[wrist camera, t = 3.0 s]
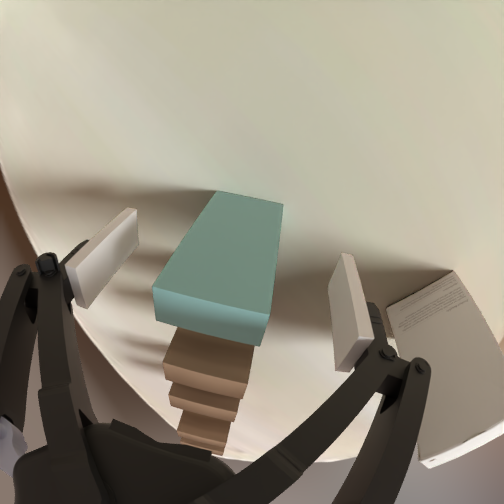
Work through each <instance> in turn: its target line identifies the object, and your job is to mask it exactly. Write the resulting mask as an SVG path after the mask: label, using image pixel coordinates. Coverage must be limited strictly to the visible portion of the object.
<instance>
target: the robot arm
mask: <svg viewBox="0 0 504 504" xmlns="http://www.w3.org/2000/svg"><path fill="white" fill-rule="evenodd" d="M138 245H139V241H138V223H137V209H133V208H128V207H127V208H126V209H125V210H123V211H122V212H121V213H120V214H119V215H117V216H116V217H115V218H114V219H113V220H112V221H111V222H109V223H108V224H107V225H106V226H105V227H104V228H103V229H102V230H100V231H99V232H98V233H97V234H96V235H95V236H94V237H93V238H92V239H91V240H85V241H83V242H82V243H80V244H79V245H78V246H76V247H75V249H73V250H72V251H71V252H70V253H69V254H68V255H67V256H66V257H65V258H64V259H63V260H62V261H61V262H60V263H58V259H57V256H56V254H55V253H51V252H49V253H44V254H42V255H40V256H39V257H38V258H37V259H36V261H35V263H36V266H37V269H38V272H32V271H31V268H30V266H29V265H28V264H22V265H19V266H17V267H16V268H15V269H14V270H13V272H12V274H11V276H10V278H9V280H8V282H7V285H6V287H5V289H4V292H3V294H2V296H1V299H0V469H1V470H2V471H4V472H5V473H7V474H8V475H9V476H11V477H12V478H13V482H14V487H15V503H14V504H269V503H270V502H271V501H273V500H274V499H275V498H276V497H278V496H279V495H280V494H281V493H283V492H284V491H285V490H286V489H287V488H288V487H289V486H291V485H292V484H293V483H294V482H295V481H296V480H298V479H299V478H300V476H301V475H302V474H303V472H304V471H305V470H306V469H307V468H308V467H309V466H310V465H311V464H312V463H313V462H314V461H315V460H316V459H317V458H318V457H319V456H320V455H321V454H322V453H323V452H324V451H325V450H326V449H327V448H328V447H329V446H330V445H331V444H332V443H333V442H334V441H335V440H336V439H337V438H338V437H339V436H340V434H341V433H342V432H343V431H344V430H345V429H346V428H347V427H348V425H349V424H350V423H351V422H352V421H353V420H354V418H355V417H356V416H357V415H358V414H359V412H360V411H361V410H362V409H363V407H364V406H365V405H366V404H367V402H368V401H369V400H370V398H371V397H372V396H373V394H374V393H375V392H378V393H381V394H383V396H382V399H381V401H380V404H379V407H378V410H377V412H376V415H375V417H374V420H373V422H372V425H371V427H370V430H369V432H368V434H367V437H366V439H365V441H364V443H363V446H362V448H361V450H360V452H359V454H358V456H357V458H356V461H355V462H354V464H353V466H352V468H351V470H350V472H349V474H348V476H347V478H346V480H345V482H344V483H343V485H342V487H341V489H340V490H339V492H338V494H337V496H336V497H335V499H334V501H333V502H332V504H394V502H395V500H396V498H397V495H398V493H399V491H400V488H401V485H402V483H403V481H404V478H405V475H406V473H407V470H408V466H409V464H410V461H411V458H412V455H413V451H414V448H415V445H416V442H417V438H418V435H419V431H420V427H421V423H422V419H423V415H424V410H425V406H426V401H427V396H428V390H429V385H430V379H431V367H430V365H429V363H428V362H427V361H426V360H425V359H423V358H420V357H415V358H414V359H412V360H411V362H409V361H406V360H404V359H401V358H399V357H398V356H397V353H396V351H395V349H394V348H393V347H392V346H390V345H388V342H387V338H386V334H385V330H384V326H383V325H382V324H383V323H382V319H381V315H380V312H379V310H378V308H377V307H376V305H375V304H374V303H370V302H366V301H365V297H364V293H363V289H362V285H361V282H360V278H359V274H358V271H357V267H356V264H355V261H354V257H353V255H350V254H346V253H341V255H340V258H339V260H338V263H337V265H336V268H335V270H334V272H333V275H332V277H331V280H330V282H329V284H328V295H329V304H330V313H331V323H332V334H333V346H334V359H335V371H340V372H350V371H351V369H352V368H353V367H354V368H355V371H354V372H353V373H352V374H351V375H350V376H349V377H348V379H347V380H346V381H345V382H344V383H343V384H342V385H341V386H340V387H339V388H338V389H337V390H336V391H335V392H334V393H333V394H332V395H331V396H330V397H329V398H328V399H327V400H326V401H325V402H324V403H323V404H322V405H321V406H320V407H319V408H318V409H317V410H316V411H315V412H314V413H313V414H312V415H311V416H310V417H309V418H308V419H306V420H305V421H304V422H303V423H302V424H301V425H300V426H299V427H298V428H296V429H295V430H294V431H293V432H292V433H291V434H290V435H288V436H287V437H286V438H285V439H284V440H282V441H281V442H280V443H279V444H278V445H276V446H275V447H273V448H272V449H270V450H269V451H268V452H266V453H265V454H264V455H263V456H261V457H260V458H259V459H257V460H256V461H255V462H253V463H252V464H251V465H249V466H248V467H246V468H245V469H244V470H242V471H241V472H239V473H238V474H235V473H234V472H233V470H232V469H231V468H230V467H229V466H228V465H226V464H225V463H224V462H223V461H221V460H219V459H218V458H216V457H214V456H212V455H211V454H212V451H210V450H205V449H201V448H197V447H193V446H190V445H185V444H169V443H159V442H157V441H155V440H153V439H152V438H150V437H148V436H147V435H145V434H144V433H142V432H141V431H139V430H138V429H136V428H135V427H132V426H129V425H127V424H125V423H122V422H120V421H117V420H115V419H113V420H112V422H111V423H98V420H97V418H96V417H95V414H94V412H93V410H92V407H91V403H90V399H89V396H88V392H87V388H86V384H85V380H84V375H83V371H82V366H81V361H80V356H79V352H78V345H77V339H76V332H75V325H74V318H73V309H72V304H71V301H72V299H73V298H75V301H76V304H77V305H78V306H80V307H83V308H85V309H88V308H89V306H90V305H91V304H92V302H93V301H94V300H95V298H96V297H97V296H98V294H99V293H100V292H101V291H102V289H103V288H104V287H105V285H106V284H107V283H108V282H109V280H110V279H111V278H112V277H113V275H114V274H115V273H116V272H117V270H118V269H119V268H120V267H121V265H122V264H123V263H124V262H125V261H126V259H127V258H128V257H129V256H130V255H131V253H132V252H133V251H134V250H135V249H136V248H137V246H138ZM37 330H38V350H39V363H40V374H41V382H42V389H40V390H39V391H38V399H39V406H40V411H41V417H42V422H43V427H44V432H45V436H46V440H47V444H48V445H45V446H43V447H41V448H38V449H36V450H34V451H31V452H29V453H26V454H25V451H27V444H26V442H25V441H24V436H23V434H22V432H23V427H24V421H25V411H26V398H27V388H28V380H29V373H30V366H31V360H32V354H33V349H34V344H35V339H36V334H37Z"/></svg>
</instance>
